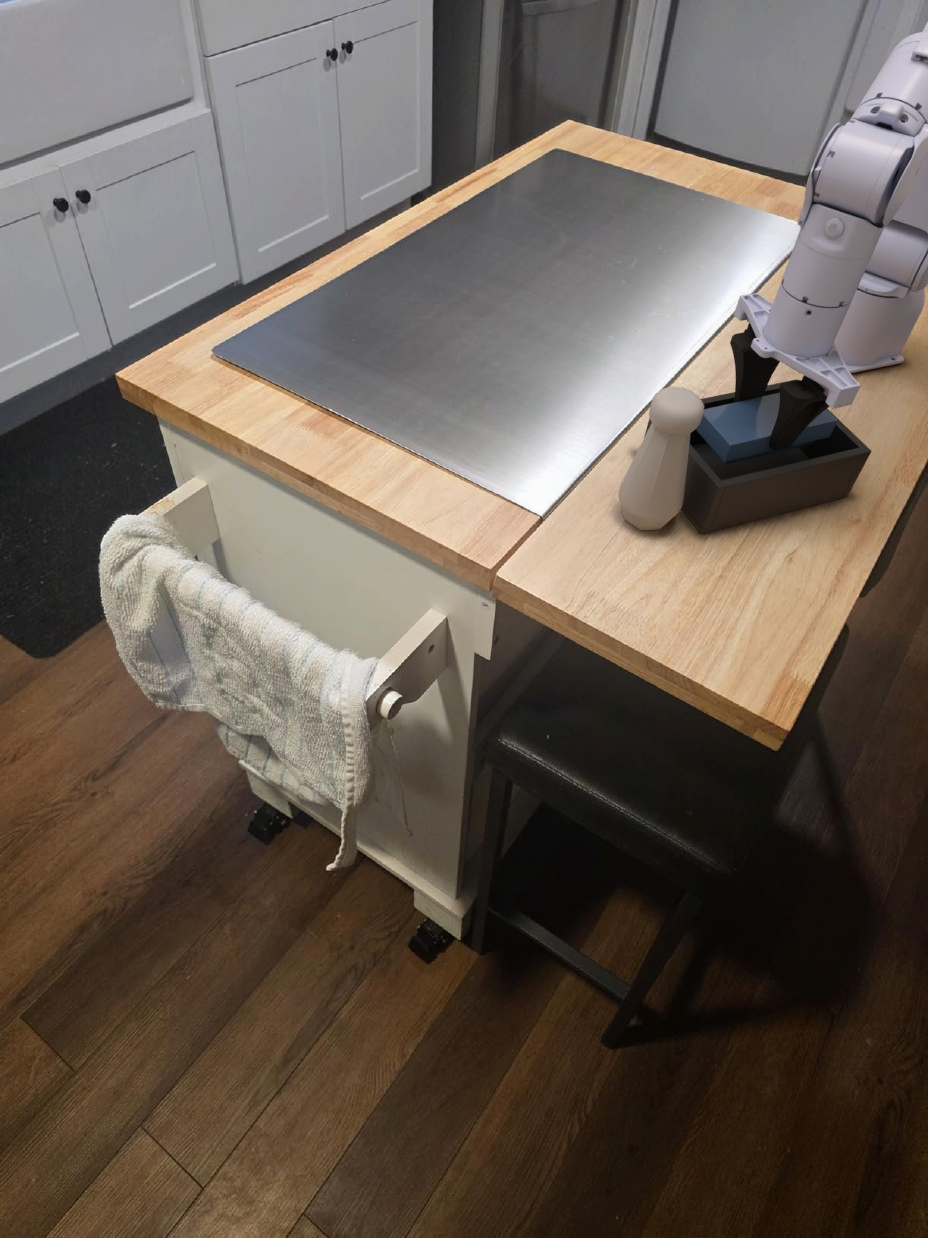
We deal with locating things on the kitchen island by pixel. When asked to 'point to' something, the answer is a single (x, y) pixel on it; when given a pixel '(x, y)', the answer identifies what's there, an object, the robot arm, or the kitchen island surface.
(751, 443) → the blue block in tray
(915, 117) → the robot arm
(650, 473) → the salt shaker
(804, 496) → the tub
